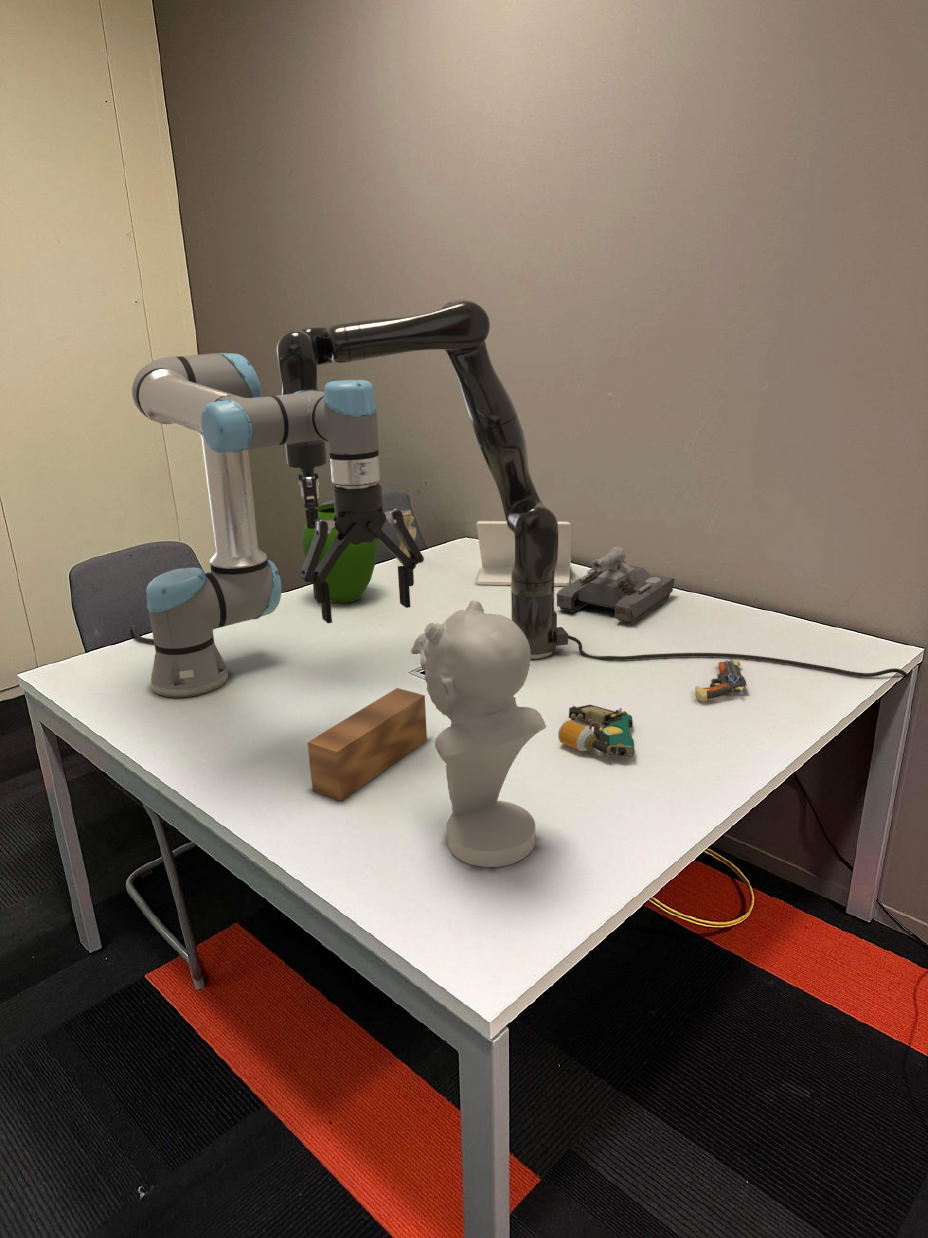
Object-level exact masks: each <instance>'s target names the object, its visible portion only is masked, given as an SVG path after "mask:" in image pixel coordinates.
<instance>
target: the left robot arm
mask: <svg viewBox="0 0 928 1238" xmlns="http://www.w3.org/2000/svg"><path fill="white" fill-rule="evenodd" d="M131 396H132V400H133V402H134V405H135V406H136V408H137V410H138V411H139V412H140V413H141V414H142V415H143V416H144V417H145V418H147V419H149V420H151V421H153V422H155V423H158V424H161V425H173V424H176V425H180V426H181V427H184V428H186V429H189V430H192V431H194V432H196V433H198V435H200V437H201V443H202V452H203V461H204V468H205V475H206V483H207V490H208V499H209V507H210V514H211V521H212V522H211V523H212V529H213V538H214V545H215V554H214V555H213V556H212V557H211V558H210V559H209V566H210V571H208V572H205V571H204V570H203V569H201V568H199V567H193V566H191V567H186V568H183V567H181V568H176V569H173V570H169V571H166V572H164V573H162V574H160V575H158V576H156V577H154V578H152V580H151V581H150V582H149V583H148V585H147V587H146V590H145V593H146V609H147V611H148V615H149V620H150V627H151V633H152V638H148V637H143V636H140V635H139V634H138V632H137V629H136V628H137V627H136V625H134V624H132V625H131V626H130V631H131V633H132V635H133V636H134V638H135V640H136V641H137V640H138V641H139V642H142V643H148V644H154V650H155V654H154V660H153V664H152V665H153V666H152V671H151V675H150V676H151V677H150V684H151V689H152V691H153V693H155V694H157V695H159V696H161V697H167V698H190V697H196V696H201V695H204V694H207V693H210V692H213V691H215V690H217V689H219V688H220V687H222V686H224V684H226V682H227V681H228V679H229V672H228V671H229V670H228V667H227V664H226V662H225V661H224V659H223V657H222V655H221V653H220V650H219V649H218V647H217V646H216V643H215V637H214V630H216V629H220V628H223V627H227V626H232V625H236V624H239V623H244V622H247V621H252V620H259V619H260V618H262V617H264V616H268V615H271V614H272V613H274V612H275V610H276V609H277V608H278V607H279V604H280V602H281V600H282V599H281V598H282V580H281V576H280V575H279V569H278V568H277V566H276V565H275V563H274V562H273V561H272V560H270V559H268V555H267V553H265V552H264V551H262V550H261V549H260V548H259V547H260V546H259V538H258V529H257V528H258V527H257V520H256V518H257V517H256V509H255V501H254V493H253V483H252V475H251V473H252V472H251V465H250V456H249V455H250V454H249V450H255V449H262V448H269V447H275V446H276V447H277V446H284V445H285V444H293V443H300V442H308V441H315V440H321V441H325V442H326V443H327V442H328V451H329V461H330V475H331V483H332V484H334V486H333V488H332V497H333V503H334V509H335V517H334V519H333V520H322V519H320V518H319V519H317V520H316V522H315V535H314V538H313V540H312V543H311V546H310V549H309V551H308V554H307V557H306V559H305V558H304V559H305V560H304V562H303V565H302V568H301V571H300V574H299V577H300V578H301V579H302V580H303V581H304V582H305V583H312V588H313V596H314V598H313V599H314V600H315V602H316V603H318V604H320V609H321V618H322V620H323V621H324V622H325V623H326V624H332V623H333V617H332V606H331V601H330V594H329V584H328V583H327V582H326V581H325V579H326V577H327V576H328V574H329V572H330V571H331V569H332V568H333V566H334V565H335V563H336V562H337V560H338V559H339V557H340V556H341V554H342V553H343V551H344V550H345V549H347V547H348V546H349V544H350V543H351V544H354V545H357V544H360V543H363V542H367V543H369V542H373V540H375V539H377V540H378V542H380V544H381V545H382V546H384V547H385V549H386V550H388V551H389V552H390V553H391V555H392V556H393V557H395V558H396V560H398V562H400V563H401V564H402V565H398V566H397V579H398V595H399V604H400V605H402V606H403V607H404V608H405V609H409V608H411V591H410V587H414V584H415V577H414V575H415V574H414V570H415V569H416V568H417V565H418V564H421V563H424V560H425V558H424V556H423V554H422V552H421V550H420V548H419V547H418V545H417V544H416V541H415V540H413V538H412V536H411V535H410V533H409V531H408V529H407V528H406V526H405V524H404V520H403V514H402V512H401V511H400V510H401V509H400V510H399V509H398V508H395V507H391V508H390V509H389V510H388V511H384V509H383V505H384V504H383V492H382V485H381V484H380V483H379V481H380V480H381V464H380V463H381V462H380V451H379V449H380V448H379V432H378V416H377V415H378V414H377V413H378V412H377V411H378V407H377V406H378V405H377V403H376V398H375V388H374V386H373V384H372V383H371V381H368V380H366V379H346V380H345V379H343V380H342V379H341V380H332V381H329V382H327V383H325V385H324V389H323V391H317V390H303V391H298V392H295V393H294V394H286V395H282V394H278V395H277V394H276V395H269V396H263V392H262V386H261V382H260V380H259V377H258V373H257V372H256V370H255V369H254V366H252V364H251V362H250V361H249V360H248V359H247V358H246V357H245V356H244V355H241V354H239V353H233V352H231V353H229V352H228V353H226V352H216V353H204V354H203V353H202V354H194V355H193V354H191V355H180V356H165V357H160V358H158V359H154V360H153V361H151V362H149V363H147V364H145V365H144V366H143V367H142V368H141V369H140V370H139V371H138V372H137V374H136V375H135V377H134V379H133V381H132V387H131ZM386 521H388V523H389V524H391V525H392V526H393V529H394V530H395V532H396V534H397V533H398V535H399V537H400V539H401V540H402V542H403V544H404V546H405V547H406V549H407V551H408V552H409V554H410V556H409V557H408V556H407V555H406V554H405V553H404V552H402V551H401V550H400V547H399V546H397V544H396V543H395V542H394V541H392V539H390V537H389V536H388V535H387V534H386V533H385V532H384V531H383V530H382V529H383V527H384V525H385V523H386ZM332 528H335V529H336V530H337V531H338V532H339V533H338V534H337V536H336V537H335V539H334V541H333V544H332V545H331V547H330V548H329V550H328V551H327V553H326V555H325V556H324V558H323V559H322V561H321V562H320V564H319V565H318V567H317V564H318V562H319V559H320V556H321V554H322V551H323V548H324V545H325V543H326V540H327V535H328V534H330V532H331V530H332ZM398 535H397V536H398ZM316 567H317V568H316Z"/></svg>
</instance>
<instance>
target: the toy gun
mask: <svg viewBox="0 0 928 1238" xmlns="http://www.w3.org/2000/svg"><path fill="white" fill-rule="evenodd" d="M741 666H742V665H741V661H740V660H738V659H735V660H733V659H730V660H724V661H719V662H718V671H719V673H716V674H717V678H713V679H711V680H710V682H711V683H710V684H709V687H701V686H699V685H696V686H694V692H695V697H696V699H697V700H698V701H699V702H706V701H708V700H709V701H710V700H713V699H716V698H720V697H723V696H726V695H729V694H733V693H734V692H736V691H740V692H743V691H744V689H745V687H747V686H749V685H748V684H747V681H746V678H745V677H744V676H743V674H742V673H741V669H740V667H741Z"/></svg>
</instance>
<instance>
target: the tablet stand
mask: <svg viewBox="0 0 928 1238" xmlns="http://www.w3.org/2000/svg"><path fill="white" fill-rule="evenodd" d="M557 522H558V532H559V533H558V558H557V565H556V568H555V571H554V587H556V586H557V587H566V586H567V585H569V584H570V580H571V579H570V578H571V565H572V564H571V560H572V558H571V522H569V521H557ZM476 531H477V537H478V544H479V551H480V557H481V558H480V559H481V570H480V573H479V575H478V577H477V580H476V581H477V582H476V584H478V585H484V586H485V585H486V586H487V585H489V586H490V585H491V586H511V566H512V564H513V563H514V561H515V538H514V537H513V536H512V534H511V533H510V531H509V529H508V525H507V521H506V520H505V521H504V520H477V522H476Z"/></svg>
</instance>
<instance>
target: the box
mask: <svg viewBox="0 0 928 1238" xmlns="http://www.w3.org/2000/svg"><path fill="white" fill-rule="evenodd" d="M426 741H428V731H427V711H426V695H425V694H421V693H418V692H414V691H410V690H407V689H403V688H400V687H396V688H394V689H393V690H391V691H389V692H388V693H385V695H383V696H381V697H380V698H378V699H376V700H374V701H373V702H371V703H369V704H368V705H366V706H365V707H362V708H361V709H359V710H357V712H355V713H353V714H351V715H349V716H348V717H346V718H345V719H343V720H341V721H340V722H338V723H336V724H335V725H333V726H332V727H330V728H329V729H327V730H325V731H323V732H321V733H320V734H319V735H316V736H315V737H314V738H312V739H310V740H308V741H307V750H308V759H309V761H308V762H309V769H310V780H311V788H312V791H313V792H316V793H318V794H321V795H324V796H326V797H328V798H332V799H334V800H337V801H340V802H342V801H344V800H345V799H346V798H348V797H349V796H351V795H352V794H353V793H355V792H356V791H358V790H359V789H360V788H362V787H363V786H365V785H367V783H370V781H371V780H373V779H375V778H376V777H378V776H379V775H381V773H383V772H384V771H386V770H387V769H388V768H390V767H391V766H393V765H394V764H395V763H397V762H398V761H399V760H401V759H403V758H404V757H405V756H408V754H410V753H411V752H413V751H414V750H415V749H416V748H419V746H421V745H423V744H424V743H425V742H426Z"/></svg>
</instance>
